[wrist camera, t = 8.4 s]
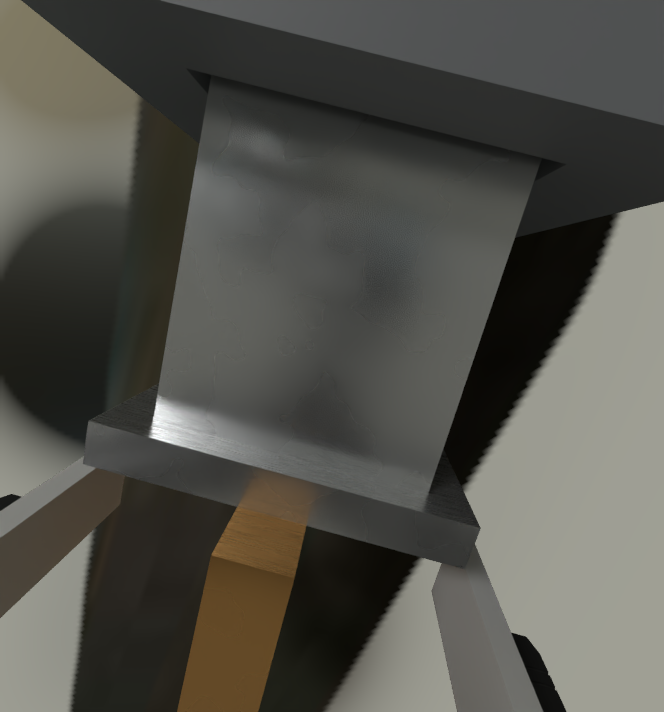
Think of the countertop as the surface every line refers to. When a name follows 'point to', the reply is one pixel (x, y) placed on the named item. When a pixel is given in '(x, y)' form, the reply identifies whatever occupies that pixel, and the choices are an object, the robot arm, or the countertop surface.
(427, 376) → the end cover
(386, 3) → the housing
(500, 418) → the countertop surface
